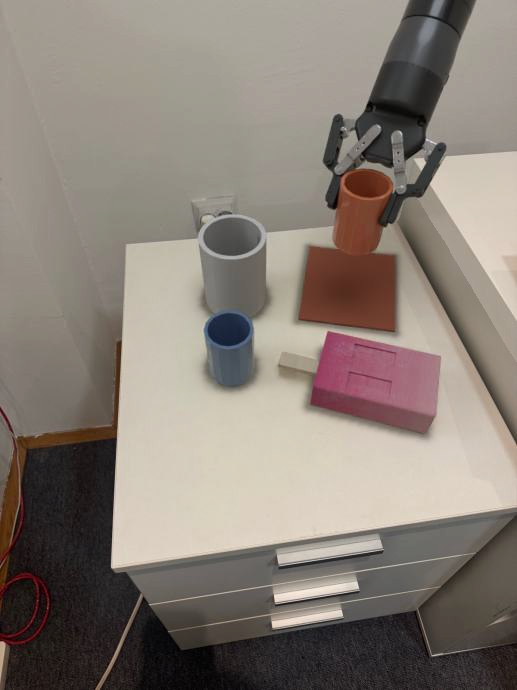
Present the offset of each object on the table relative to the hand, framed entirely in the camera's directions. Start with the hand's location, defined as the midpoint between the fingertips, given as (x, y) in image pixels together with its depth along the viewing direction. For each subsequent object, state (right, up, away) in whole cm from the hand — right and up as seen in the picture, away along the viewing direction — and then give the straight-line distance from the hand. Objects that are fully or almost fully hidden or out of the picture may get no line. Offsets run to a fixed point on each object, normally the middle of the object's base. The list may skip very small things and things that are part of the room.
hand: (356, 216), depth 59 cm
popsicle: (+1, -21, +6) cm, 22 cm away
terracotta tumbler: (+1, -2, +5) cm, 5 cm away
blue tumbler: (-16, -19, +8) cm, 26 cm away
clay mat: (+2, -7, +17) cm, 18 cm away
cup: (-15, -8, +16) cm, 24 cm away
